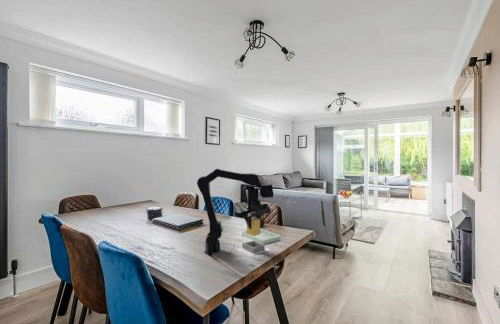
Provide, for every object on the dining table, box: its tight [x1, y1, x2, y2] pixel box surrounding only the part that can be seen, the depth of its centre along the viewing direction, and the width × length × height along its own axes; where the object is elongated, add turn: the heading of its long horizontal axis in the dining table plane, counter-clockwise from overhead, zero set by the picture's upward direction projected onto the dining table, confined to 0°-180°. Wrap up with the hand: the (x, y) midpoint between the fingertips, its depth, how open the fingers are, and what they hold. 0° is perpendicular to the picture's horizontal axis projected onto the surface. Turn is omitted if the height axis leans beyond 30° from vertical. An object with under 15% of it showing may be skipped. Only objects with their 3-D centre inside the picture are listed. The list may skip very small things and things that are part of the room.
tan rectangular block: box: [246, 216, 261, 237], centre depth 130 cm, size 4×6×8 cm, turn 36°
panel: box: [236, 240, 272, 257], centre depth 130 cm, size 14×12×4 cm
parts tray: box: [241, 227, 282, 245], centre depth 150 cm, size 13×20×3 cm, turn 36°
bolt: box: [260, 218, 266, 227], centre depth 172 cm, size 6×5×15 cm
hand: (253, 228), depth 130 cm, fingers closed on tan rectangular block, 4 cm apart
